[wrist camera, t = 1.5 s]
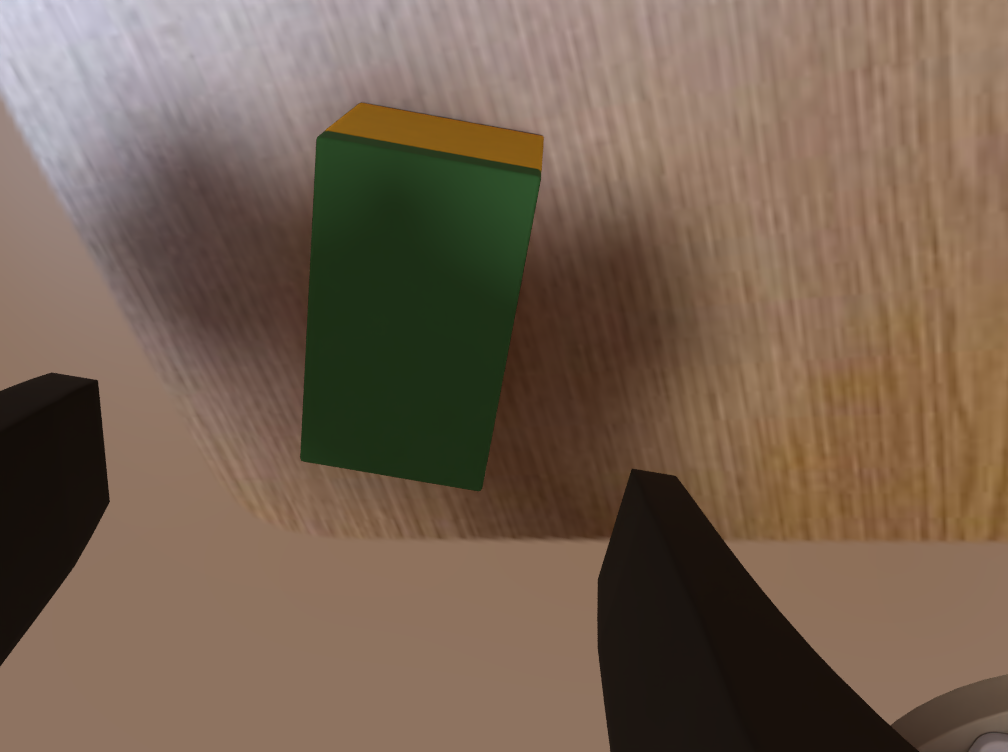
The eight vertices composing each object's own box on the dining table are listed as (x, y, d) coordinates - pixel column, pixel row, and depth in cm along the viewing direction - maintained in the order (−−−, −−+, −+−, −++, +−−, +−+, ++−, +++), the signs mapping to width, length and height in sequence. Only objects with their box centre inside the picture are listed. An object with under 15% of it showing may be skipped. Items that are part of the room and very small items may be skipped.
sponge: (492, 411, 20) (481, 493, 17) (338, 383, 20) (299, 462, 17) (544, 135, 17) (541, 177, 14) (359, 101, 17) (315, 135, 14)
